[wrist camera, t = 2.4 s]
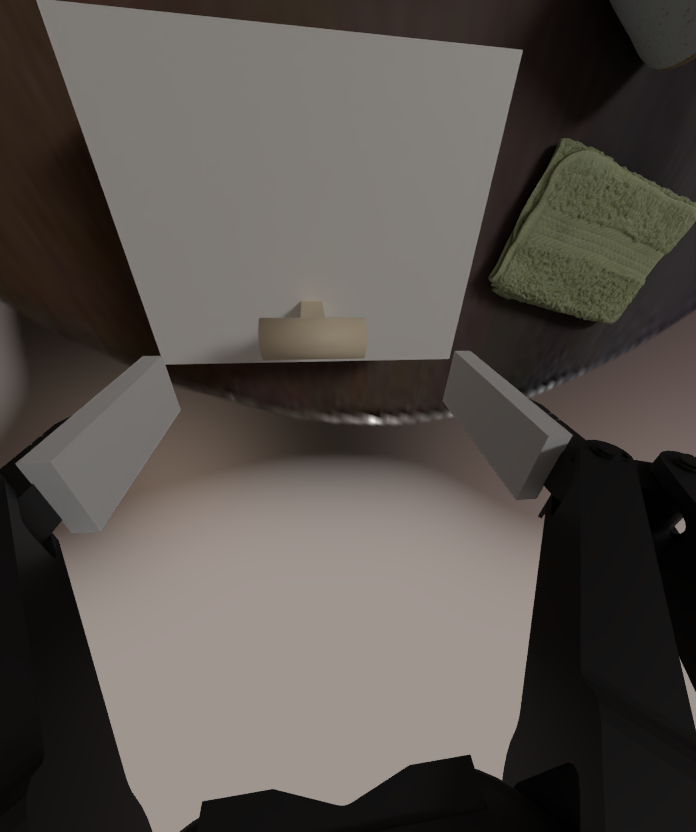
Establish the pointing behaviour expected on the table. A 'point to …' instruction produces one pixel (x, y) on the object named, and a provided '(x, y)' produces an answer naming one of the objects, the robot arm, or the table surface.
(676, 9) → the ceramic mug
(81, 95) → the lid
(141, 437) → the robot arm
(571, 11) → the table surface
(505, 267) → the washcloth
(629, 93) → the table surface
